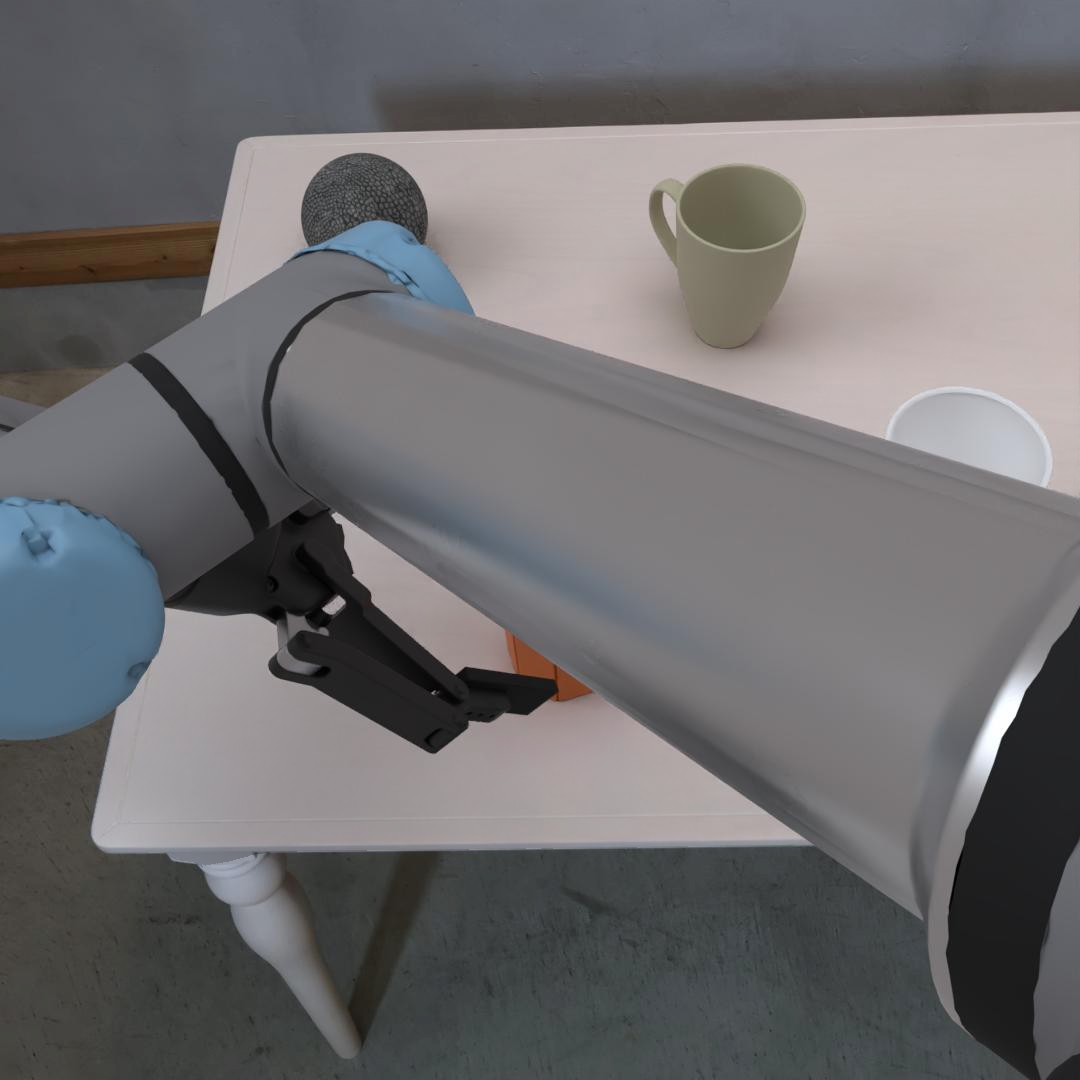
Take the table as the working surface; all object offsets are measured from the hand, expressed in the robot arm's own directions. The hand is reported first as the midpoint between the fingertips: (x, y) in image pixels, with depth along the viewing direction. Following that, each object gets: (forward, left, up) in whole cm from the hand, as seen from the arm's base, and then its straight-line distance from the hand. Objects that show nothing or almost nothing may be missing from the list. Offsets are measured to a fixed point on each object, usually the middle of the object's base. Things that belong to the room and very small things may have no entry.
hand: (508, 595), depth 66 cm
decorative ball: (+39, +1, -10) cm, 40 cm away
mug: (+24, -23, -10) cm, 35 cm away
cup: (0, -29, -10) cm, 31 cm away
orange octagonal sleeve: (0, -3, -10) cm, 10 cm away
